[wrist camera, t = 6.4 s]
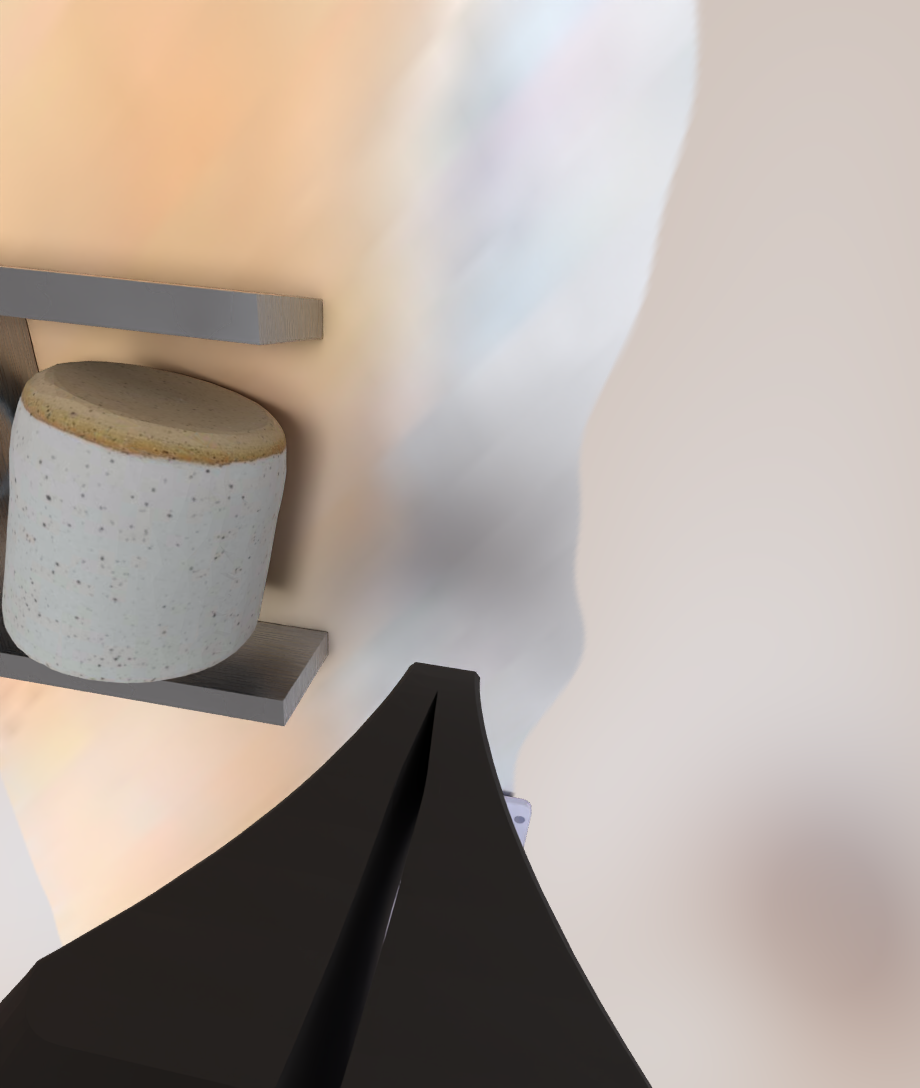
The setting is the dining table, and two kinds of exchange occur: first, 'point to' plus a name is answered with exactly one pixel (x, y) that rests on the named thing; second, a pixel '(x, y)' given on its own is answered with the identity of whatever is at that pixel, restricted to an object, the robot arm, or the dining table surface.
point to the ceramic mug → (137, 521)
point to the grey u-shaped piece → (184, 310)
